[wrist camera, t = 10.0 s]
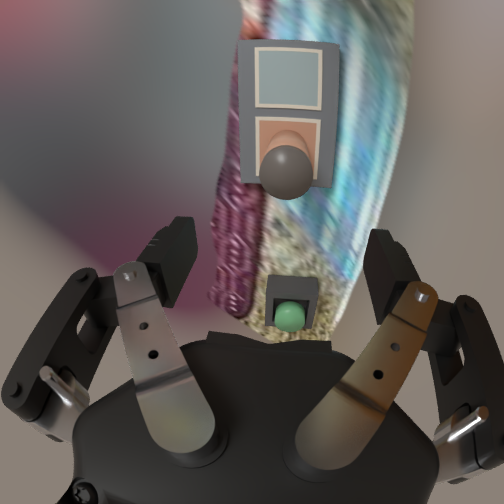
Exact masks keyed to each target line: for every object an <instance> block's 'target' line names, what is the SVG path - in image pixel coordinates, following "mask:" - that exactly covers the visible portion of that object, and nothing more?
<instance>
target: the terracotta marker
mask: <svg viewBox="0 0 504 504" xmlns="http://www.w3.org/2000/svg"><path fill="white" fill-rule="evenodd" d="M259 179H260V182H261V184H262V186H263V188H264V189H265V190H266V191H267V192H268V193H269V194H270V195H272V196H273V197H276V198H278V199H283V200H291V199H295V198H298V197H300V196H302V195H303V194H305V193H306V192H307V191H308V189H309V188H310V186H311V184H312V181H313V169H312V165H311V161H310V157H309V153H308V149H307V145H306V142H305V140H304V138H303V137H302V136H301V135H300V134H299V133H297V132H295V131H292V130H283V131H280V132H278V133H276V134H275V135H274V136H273V137H272V138H271V140H270V142H269V145H268V147H267V150H266V152H265V155H264V158H263V160H262V163H261V166H260V169H259Z"/></svg>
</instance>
